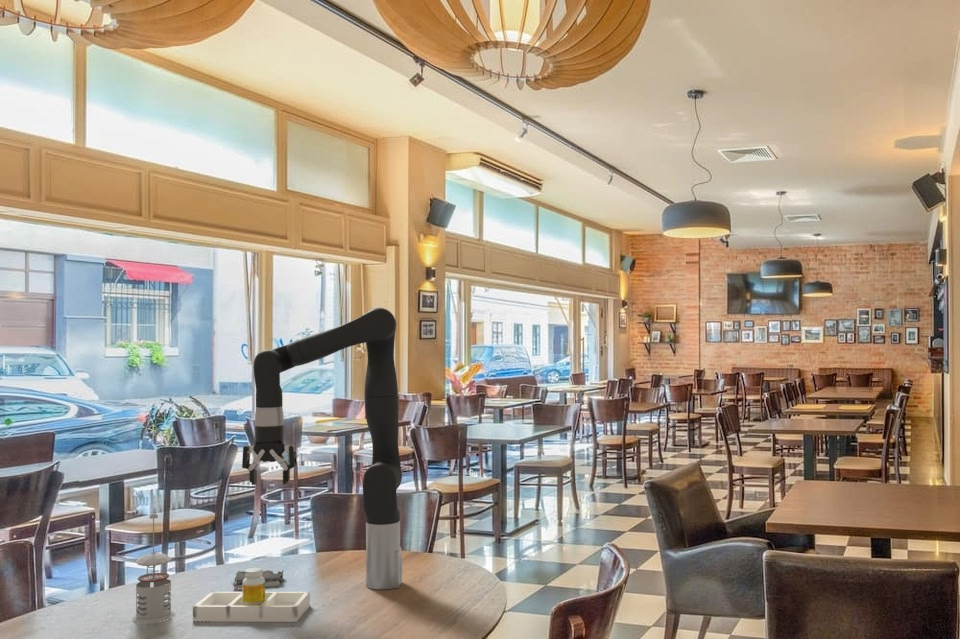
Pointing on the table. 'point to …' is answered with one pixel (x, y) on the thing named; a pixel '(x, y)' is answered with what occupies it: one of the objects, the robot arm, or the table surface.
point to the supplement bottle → (253, 587)
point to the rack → (251, 607)
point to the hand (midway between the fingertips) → (269, 484)
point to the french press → (153, 589)
